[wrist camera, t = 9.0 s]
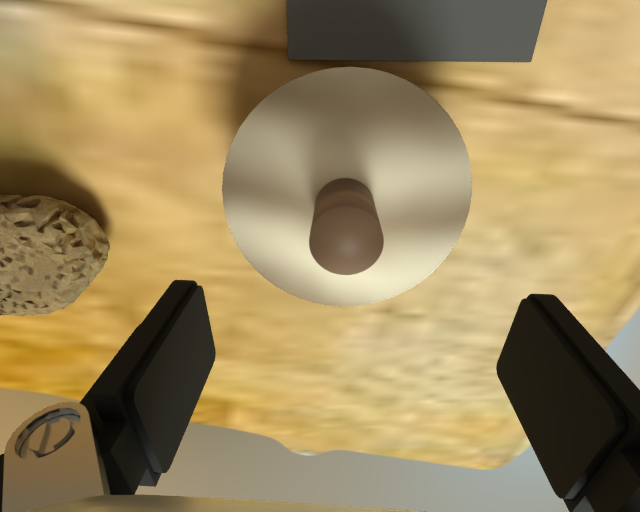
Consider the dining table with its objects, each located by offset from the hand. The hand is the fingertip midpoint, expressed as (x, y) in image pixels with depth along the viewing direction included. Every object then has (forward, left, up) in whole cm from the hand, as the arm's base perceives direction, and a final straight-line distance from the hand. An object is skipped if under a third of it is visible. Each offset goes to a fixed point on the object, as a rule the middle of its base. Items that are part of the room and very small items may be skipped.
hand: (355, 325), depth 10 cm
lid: (+1, 0, -13) cm, 13 cm away
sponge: (+7, -30, -19) cm, 36 cm away
